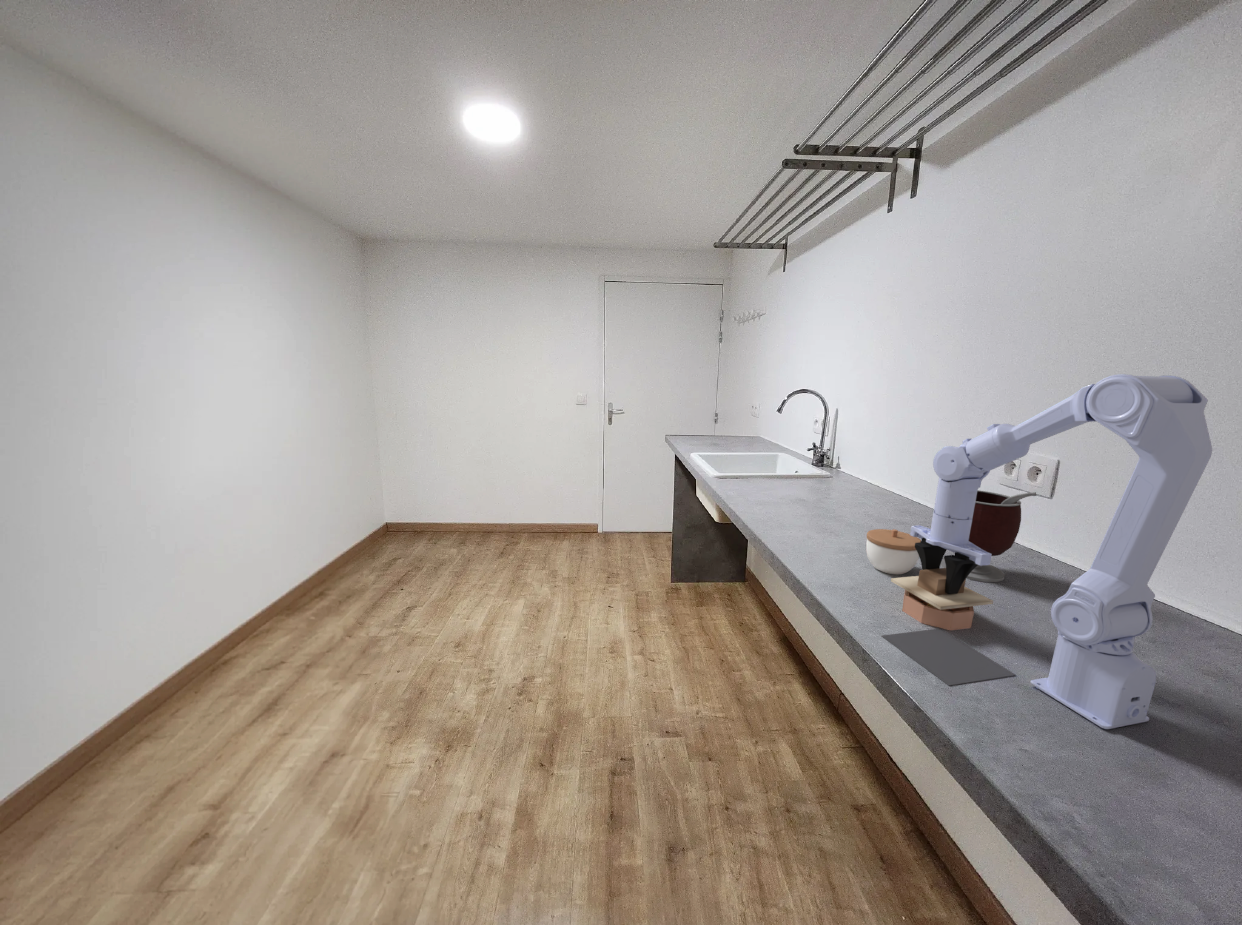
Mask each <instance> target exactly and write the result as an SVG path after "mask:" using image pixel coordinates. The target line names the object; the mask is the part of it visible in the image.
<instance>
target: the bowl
mask: <svg viewBox="0 0 1242 925" xmlns="http://www.w3.org/2000/svg"><path fill="white" fill-rule="evenodd" d="M902 599H903V600H902V609H901V610H902V611H901V612H903V613H905V614H906V615H908V616H909V617H911V618H913V619H914V620H916V622H917V621H918V622H919V624H920V623H921V624H924V625H927V626H931V627H935V628H938V629H939V628H941V629H943V630H948V631H957V630H966V629H971V628H972V624H973V619H974V614H975V608H974V606H970V607H961V608H952V609H946V610H940V609H938V608H934V607H930V606H928V602H926V601H924V600H922V599H921V598H919V597H917V596H915V595H914V594H912V593H910V592H908V591H907V590H905V589H904V593H903V598H902Z"/></svg>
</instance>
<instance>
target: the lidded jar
mask: <svg viewBox="0 0 1242 925" xmlns="http://www.w3.org/2000/svg"><path fill="white" fill-rule="evenodd" d="M920 541H922V539H921V538H919V537H913V536H911V535H910V533H907V532H903V531H901V530H900V531H899V530H898V529H895V528H893V529H887V528H886V529H885V528H882V529H881V528H879V529H878V528H876V529H871V530H868V532H867V533H866V544H865V546H866V547H865V550H866V556H867V559H868V561H869V563H870V564H871V565H872V566H873V568H874V569H876V570H877V571H880V572H882V573H887V574H889V575H904V574H906V573H908V572H910V571H912V569H914V568H915V567H916V565H917V563H918V561H919V560H920V557H919V555H918V552H917V550H916V548H915V543H919V542H920Z"/></svg>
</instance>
